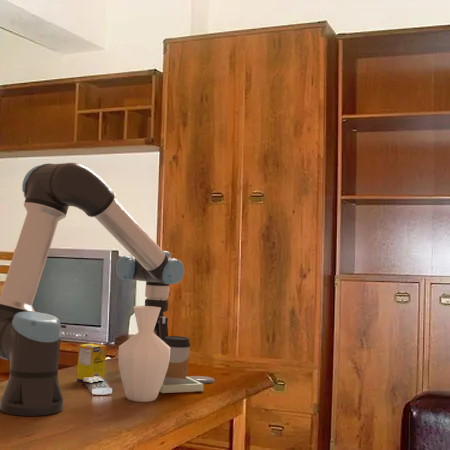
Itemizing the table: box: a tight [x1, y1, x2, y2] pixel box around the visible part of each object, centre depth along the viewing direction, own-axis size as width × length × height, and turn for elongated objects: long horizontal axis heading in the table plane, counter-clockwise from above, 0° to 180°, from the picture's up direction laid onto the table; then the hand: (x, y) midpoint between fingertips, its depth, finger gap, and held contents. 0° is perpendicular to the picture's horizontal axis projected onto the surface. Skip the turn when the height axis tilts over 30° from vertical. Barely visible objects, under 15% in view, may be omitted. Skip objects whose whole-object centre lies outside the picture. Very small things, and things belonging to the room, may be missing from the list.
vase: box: [117, 305, 170, 403], centre depth 192 cm, size 14×14×25 cm
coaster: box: [188, 375, 215, 385], centre depth 220 cm, size 9×9×1 cm
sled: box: [159, 375, 205, 394], centre depth 212 cm, size 13×25×12 cm, turn 28°
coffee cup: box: [163, 335, 191, 385], centre depth 207 cm, size 8×8×15 cm
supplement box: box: [76, 343, 107, 383], centre depth 210 cm, size 6×6×11 cm
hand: (152, 367), depth 222 cm, fingers open, 11 cm apart
